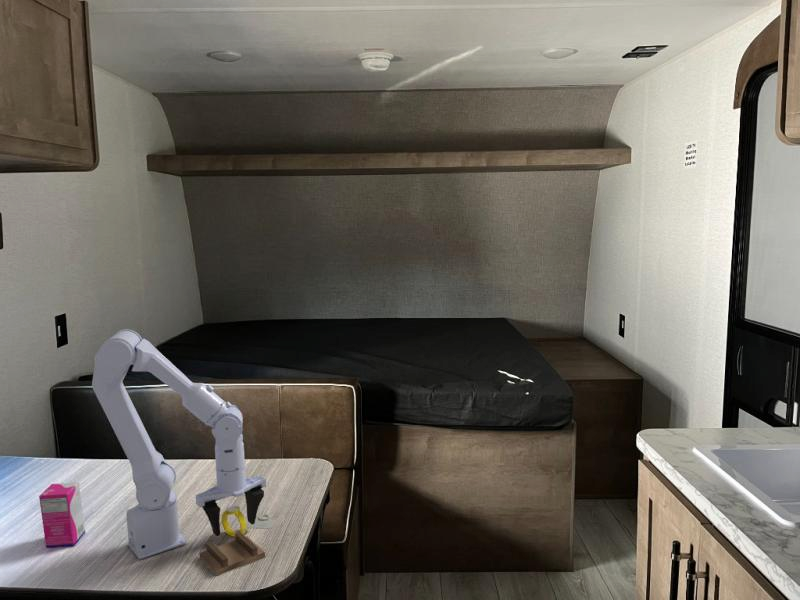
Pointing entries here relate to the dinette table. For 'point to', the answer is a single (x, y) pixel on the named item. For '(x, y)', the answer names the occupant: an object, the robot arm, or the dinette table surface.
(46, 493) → the supplement box
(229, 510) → the watch
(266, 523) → the mounting bracket
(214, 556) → the rack
